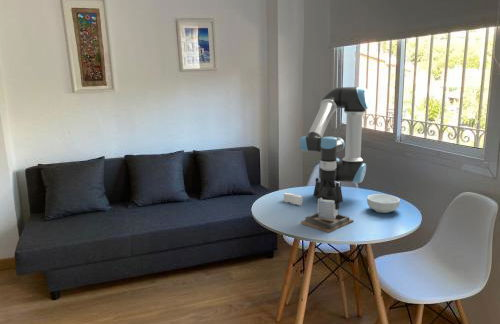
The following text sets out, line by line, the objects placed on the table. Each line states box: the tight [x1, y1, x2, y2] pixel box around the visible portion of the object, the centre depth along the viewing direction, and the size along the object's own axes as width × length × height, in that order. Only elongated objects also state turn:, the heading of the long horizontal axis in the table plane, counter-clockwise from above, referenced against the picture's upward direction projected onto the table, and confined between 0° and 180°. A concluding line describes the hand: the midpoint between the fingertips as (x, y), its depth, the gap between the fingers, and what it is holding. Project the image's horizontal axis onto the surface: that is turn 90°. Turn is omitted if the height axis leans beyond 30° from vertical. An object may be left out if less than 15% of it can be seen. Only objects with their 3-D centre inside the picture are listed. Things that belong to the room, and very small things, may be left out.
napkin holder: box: [283, 192, 303, 206], centre depth 232 cm, size 15×11×6 cm
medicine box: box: [319, 199, 336, 220], centre depth 200 cm, size 8×4×9 cm, turn 65°
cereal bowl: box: [366, 193, 401, 214], centre depth 217 cm, size 17×17×7 cm
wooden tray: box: [300, 211, 354, 234], centre depth 202 cm, size 20×17×3 cm
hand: (327, 213), depth 201 cm, fingers closed on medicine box, 9 cm apart
